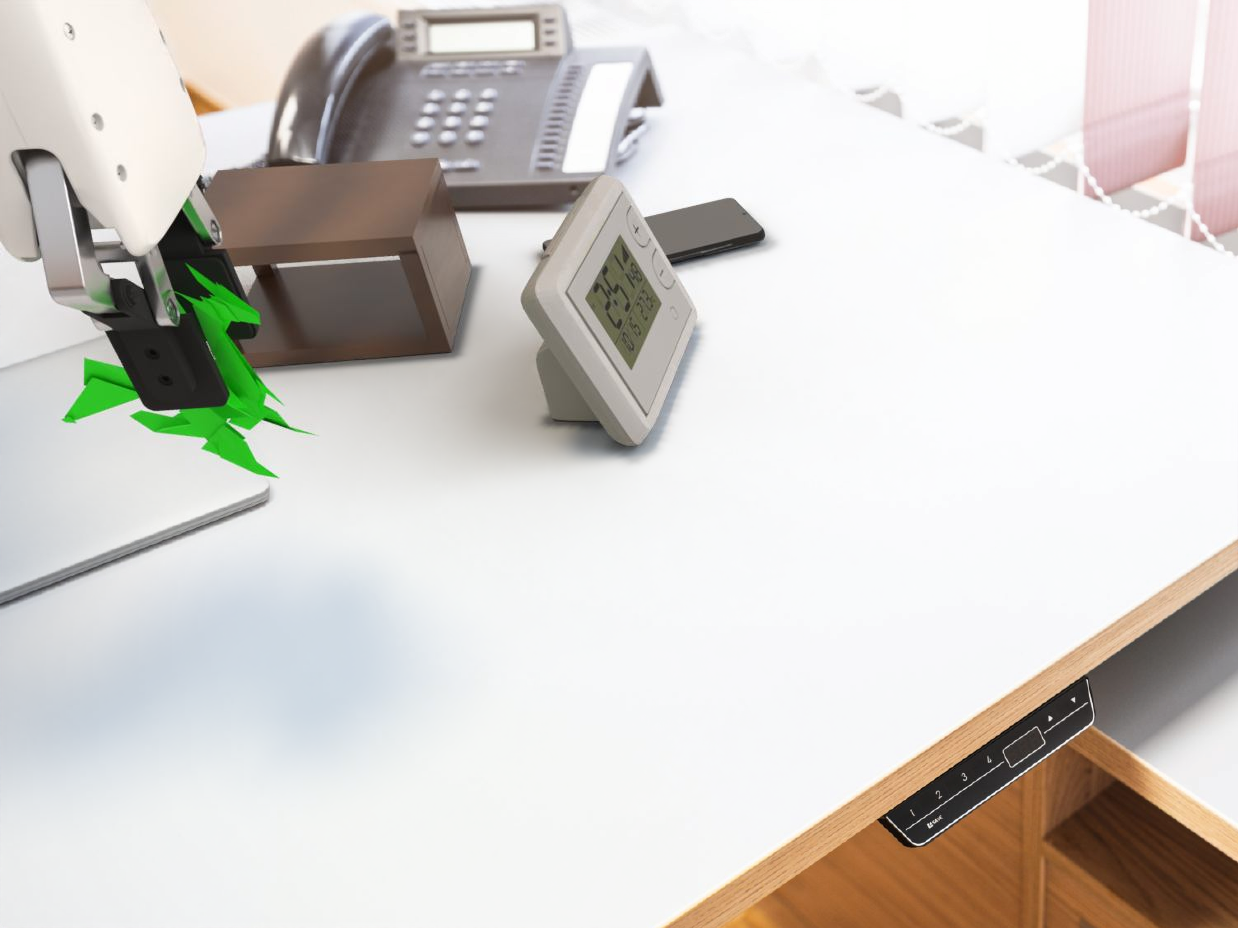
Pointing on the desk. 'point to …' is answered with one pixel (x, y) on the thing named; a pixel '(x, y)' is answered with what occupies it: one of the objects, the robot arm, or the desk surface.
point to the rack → (345, 229)
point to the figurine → (242, 408)
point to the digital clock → (608, 315)
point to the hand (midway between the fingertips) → (204, 366)
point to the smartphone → (702, 229)
